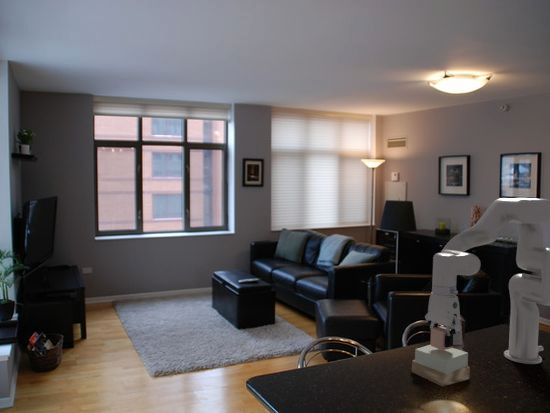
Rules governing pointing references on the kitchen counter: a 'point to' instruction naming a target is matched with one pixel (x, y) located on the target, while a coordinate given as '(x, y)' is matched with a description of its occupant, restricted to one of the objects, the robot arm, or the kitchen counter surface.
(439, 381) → the tower base
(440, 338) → the pink block
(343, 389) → the kitchen counter surface
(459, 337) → the coffee box
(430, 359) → the tower top
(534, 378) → the kitchen counter surface
